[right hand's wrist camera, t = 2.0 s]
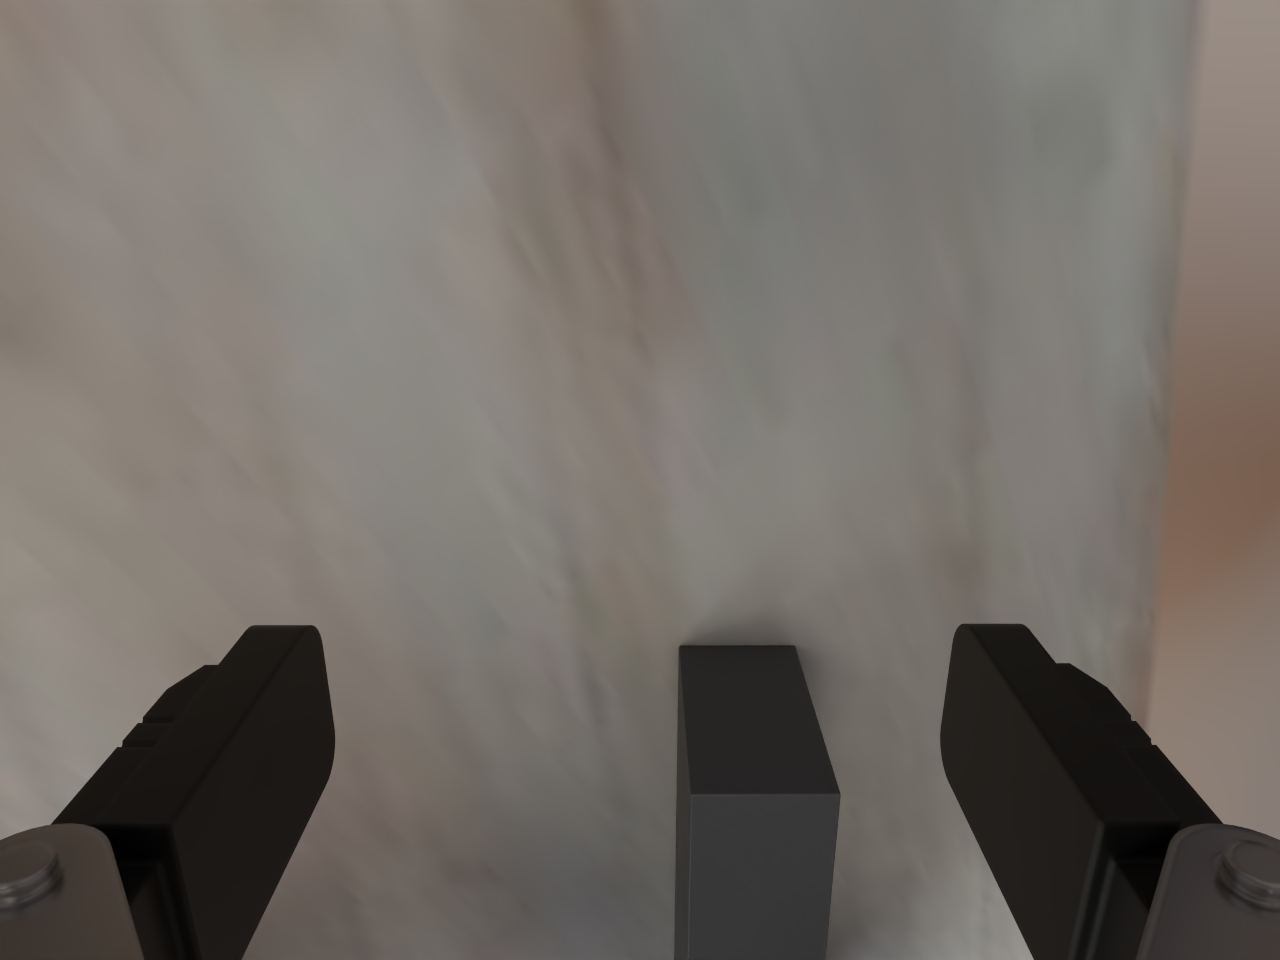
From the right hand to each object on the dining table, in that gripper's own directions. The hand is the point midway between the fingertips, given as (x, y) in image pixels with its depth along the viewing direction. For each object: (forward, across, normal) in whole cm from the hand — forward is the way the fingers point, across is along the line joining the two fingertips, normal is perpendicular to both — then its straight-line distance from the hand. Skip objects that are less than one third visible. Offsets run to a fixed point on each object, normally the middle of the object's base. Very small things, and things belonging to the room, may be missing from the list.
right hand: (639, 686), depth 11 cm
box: (+30, +5, -30) cm, 43 cm away
